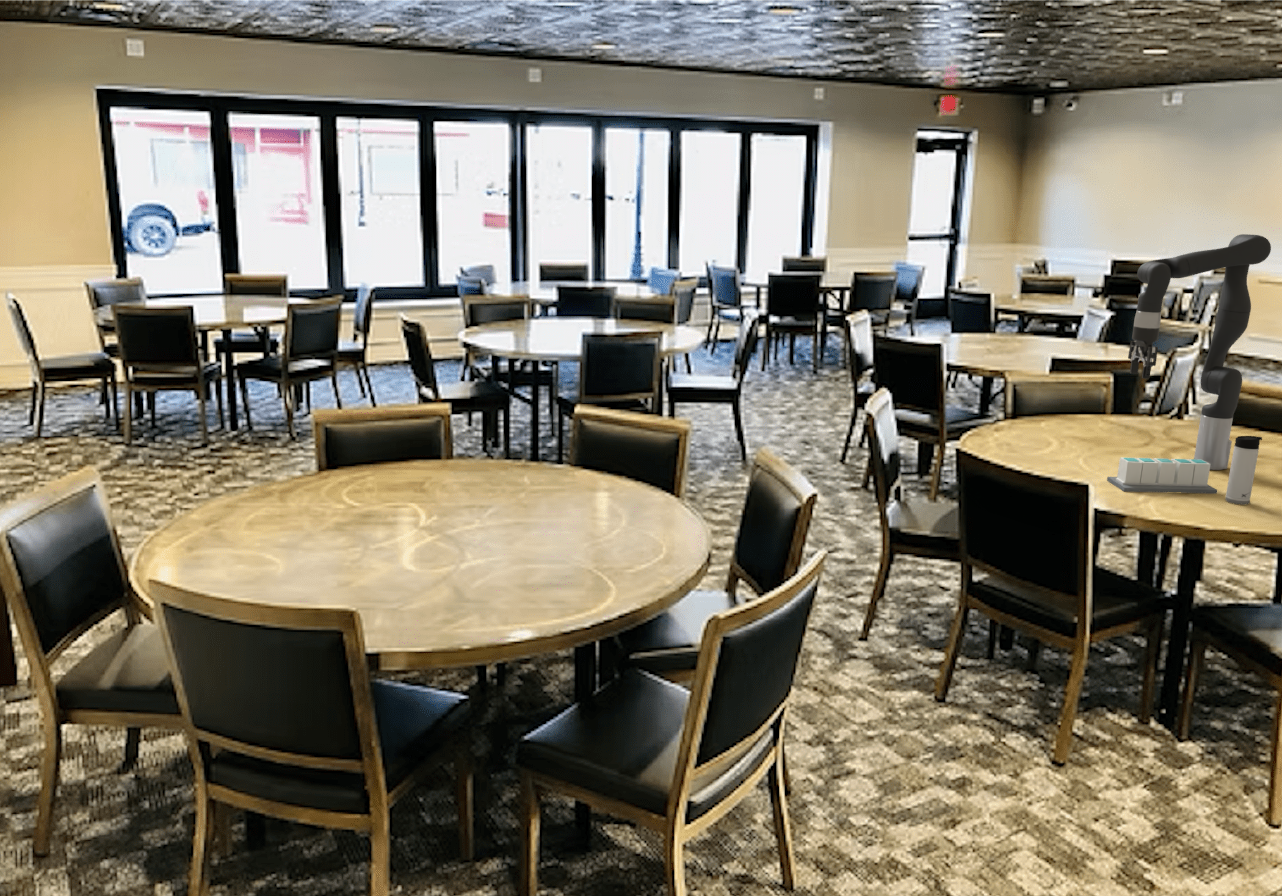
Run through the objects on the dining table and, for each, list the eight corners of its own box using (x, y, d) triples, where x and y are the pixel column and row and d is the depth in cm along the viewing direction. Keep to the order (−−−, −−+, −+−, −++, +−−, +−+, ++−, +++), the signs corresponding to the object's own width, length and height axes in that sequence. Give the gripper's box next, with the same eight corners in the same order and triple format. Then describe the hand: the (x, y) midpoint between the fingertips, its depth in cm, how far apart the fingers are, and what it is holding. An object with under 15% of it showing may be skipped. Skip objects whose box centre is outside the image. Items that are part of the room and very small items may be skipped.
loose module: (1164, 478, 325) (1167, 457, 324) (1173, 483, 320) (1176, 462, 318) (1150, 478, 325) (1153, 457, 324) (1158, 483, 320) (1161, 462, 318)
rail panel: (1196, 482, 329) (1200, 456, 327) (1216, 493, 317) (1221, 466, 315) (1106, 480, 329) (1110, 453, 327) (1123, 491, 317) (1127, 464, 315)
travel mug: (1248, 506, 305) (1260, 439, 300) (1223, 502, 309) (1234, 435, 304) (1252, 501, 310) (1263, 435, 305) (1227, 497, 314) (1238, 432, 309)
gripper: (1169, 329, 328) (1161, 380, 332) (1148, 322, 342) (1141, 372, 346) (1145, 328, 328) (1137, 379, 332) (1125, 322, 342) (1118, 371, 346)
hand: (1139, 375), depth 339 cm, fingers open, 8 cm apart
